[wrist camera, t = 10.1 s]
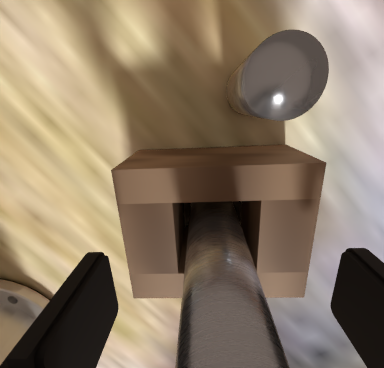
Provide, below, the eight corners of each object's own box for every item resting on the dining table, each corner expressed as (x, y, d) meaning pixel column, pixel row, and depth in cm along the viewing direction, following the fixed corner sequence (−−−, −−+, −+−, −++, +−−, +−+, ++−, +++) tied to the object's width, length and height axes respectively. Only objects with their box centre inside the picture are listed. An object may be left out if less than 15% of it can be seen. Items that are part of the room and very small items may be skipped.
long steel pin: (190, 183, 16) (140, 572, 3) (231, 182, 16) (401, 585, 2) (192, 220, 17) (163, 634, 4) (231, 219, 17) (348, 646, 3)
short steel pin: (225, 116, 14) (243, 122, 8) (226, 64, 13) (246, 32, 8) (272, 114, 14) (321, 118, 8) (276, 61, 13) (335, 26, 7)
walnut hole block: (151, 247, 18) (133, 298, 13) (139, 150, 15) (111, 169, 10) (275, 245, 17) (303, 297, 13) (285, 144, 15) (326, 162, 10)
